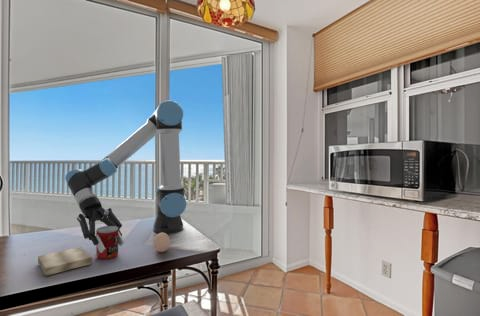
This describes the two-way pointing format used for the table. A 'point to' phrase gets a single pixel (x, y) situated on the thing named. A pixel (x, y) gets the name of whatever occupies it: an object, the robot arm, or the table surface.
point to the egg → (161, 242)
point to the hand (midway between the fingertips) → (112, 247)
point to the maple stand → (64, 260)
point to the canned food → (108, 242)
